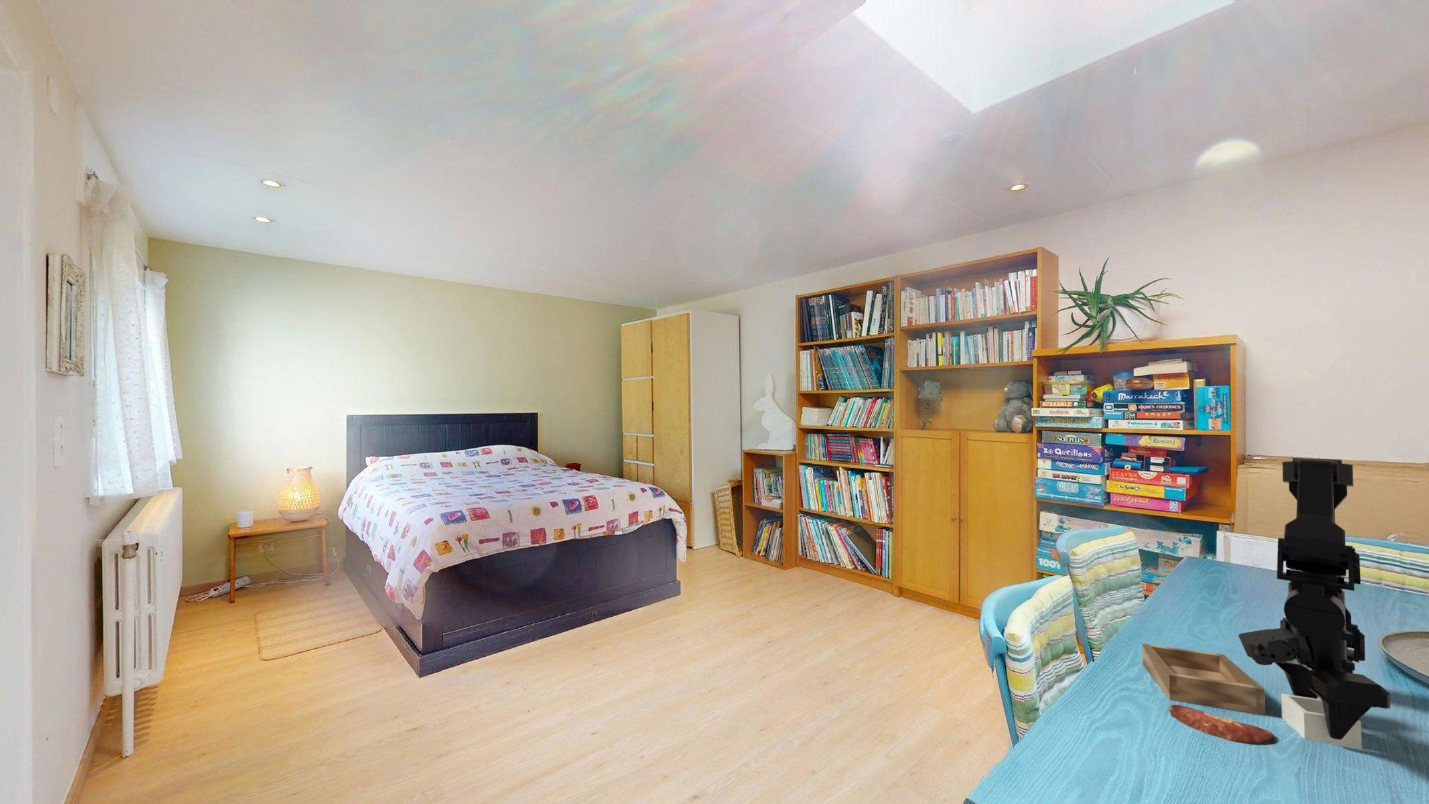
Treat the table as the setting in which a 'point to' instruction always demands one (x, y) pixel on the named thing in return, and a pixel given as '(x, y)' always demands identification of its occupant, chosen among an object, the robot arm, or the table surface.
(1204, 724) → the steak
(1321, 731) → the cream crate
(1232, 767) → the table surface
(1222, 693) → the walnut crate
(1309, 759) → the table surface
